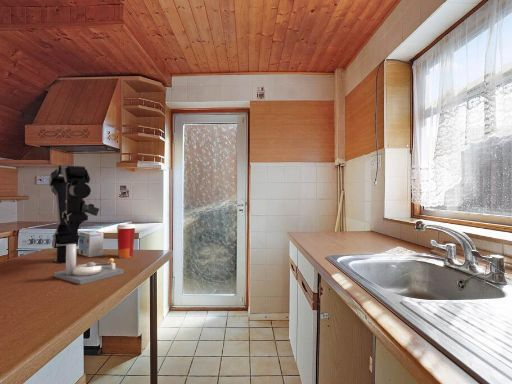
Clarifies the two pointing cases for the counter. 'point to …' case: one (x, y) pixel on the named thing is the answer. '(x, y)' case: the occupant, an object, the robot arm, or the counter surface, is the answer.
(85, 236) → the light bulb box
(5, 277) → the counter surface
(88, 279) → the stand
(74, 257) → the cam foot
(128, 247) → the coffee cup
